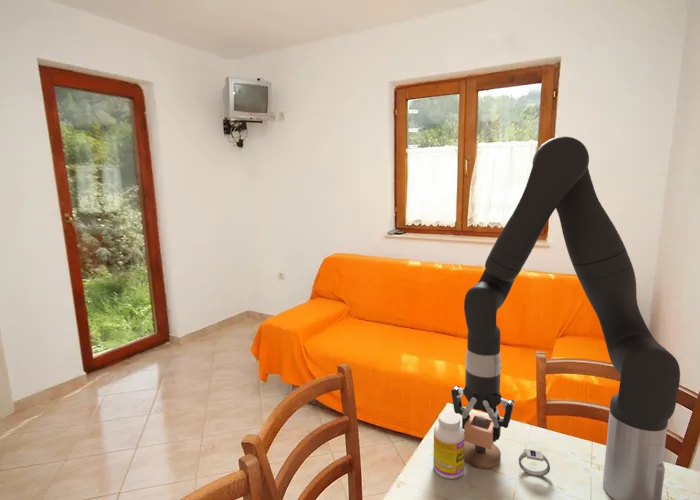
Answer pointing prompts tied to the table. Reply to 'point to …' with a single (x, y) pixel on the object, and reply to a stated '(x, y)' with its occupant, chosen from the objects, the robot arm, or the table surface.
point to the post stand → (481, 452)
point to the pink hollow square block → (479, 432)
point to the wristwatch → (535, 456)
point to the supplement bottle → (448, 446)
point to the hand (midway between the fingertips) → (480, 434)
